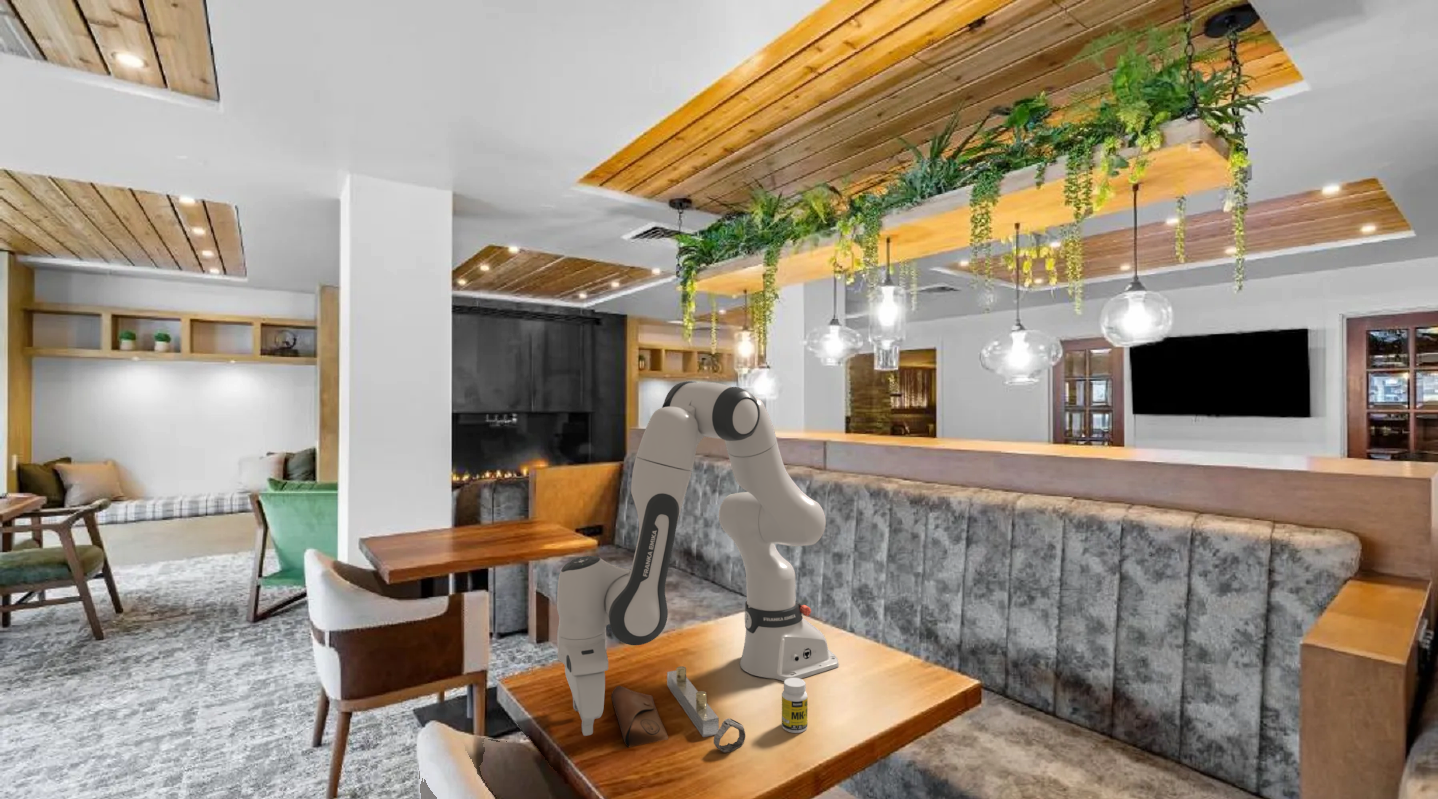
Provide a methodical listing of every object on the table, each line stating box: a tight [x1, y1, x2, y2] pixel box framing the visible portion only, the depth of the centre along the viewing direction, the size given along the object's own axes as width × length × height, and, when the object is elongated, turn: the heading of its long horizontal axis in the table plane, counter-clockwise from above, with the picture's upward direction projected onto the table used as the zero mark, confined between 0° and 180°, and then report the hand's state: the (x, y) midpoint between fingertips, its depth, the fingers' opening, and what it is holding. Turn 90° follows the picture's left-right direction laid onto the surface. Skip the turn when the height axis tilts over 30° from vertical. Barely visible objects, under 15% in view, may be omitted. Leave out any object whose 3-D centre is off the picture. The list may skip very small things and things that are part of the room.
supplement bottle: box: [781, 678, 809, 734], centre depth 120 cm, size 5×5×8 cm
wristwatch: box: [713, 717, 746, 754], centre depth 113 cm, size 4×6×5 cm, turn 127°
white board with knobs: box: [666, 665, 720, 738], centre depth 127 cm, size 3×22×6 cm, turn 22°
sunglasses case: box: [611, 685, 669, 748], centre depth 123 cm, size 18×7×7 cm
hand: (582, 720), depth 119 cm, fingers open, 8 cm apart
